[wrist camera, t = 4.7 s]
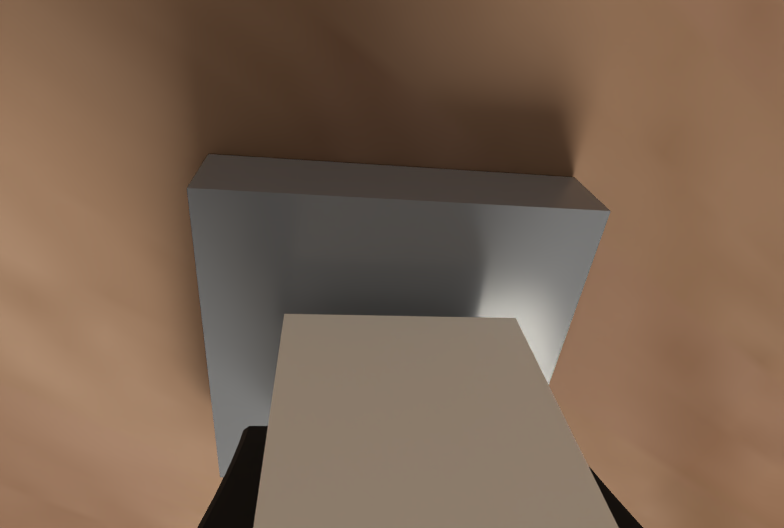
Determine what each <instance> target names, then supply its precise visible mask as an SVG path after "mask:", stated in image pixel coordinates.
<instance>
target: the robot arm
mask: <svg viewBox="0 0 784 528" xmlns="http://www.w3.org/2000/svg"><path fill="white" fill-rule="evenodd" d="M267 429H268V426H248V427H247V428H246V429H244V430H243V433H242V435H241V438H240V441H239V444H238V446H237V449H236V451H235V453H234V456H233V458H232V460H231V463H230V465H229V467H228V469H227V471H226V474H225V476H224V478H223V480H222V482H221V484H220V486H219V488H218V490H217V492H216V494H215V496H214V498H213V500H212V502H211V503H210V505H209V507H208V509H207V511H206V513H205V515H204V517H203V518H202V520H201V522H200V524H199V526H198V528H253V526H254V519H255V512H256V505H257V498H258V491H259V484H260V477H261V471H262V464H263V457H264V450H265V443H266V436H267ZM589 468H590V467H589ZM590 470H591V472H592V474H593V476H594V479H595V481H596V483H597V485H598V487H599V489H600V491H601V493H602V495H603V497H604V499H605V501H606V503H607V505H608V507H609V509H610V511H611V513H612V515H613V517H614V519H615V521H616V523H617V525H618V527H619V528H643V527H642V526H641V525H640V524H639V523H638V522H637V520H636V519H635V518H634V517H633V516H632V515H631V514H630V513H629V512H628V510H627V509H626V508H625V507H624V506H623V505H622V504H621V503H620V502H619V501H618V499H617V498H616V497H615V496H614V495H613V494H612V493H611V491H610V490H609V489H608V488H607V487H606V486H605V485H604V483H603V482H602V481H601V480H600V479H599V478H598V476H597V475H596V474H595V473H594V472H593V471H592V469H591V468H590Z"/></svg>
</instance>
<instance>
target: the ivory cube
mask: <svg viewBox="0 0 784 528" xmlns="http://www.w3.org/2000/svg"><path fill="white" fill-rule="evenodd" d="M253 528H619V527H618V525H617V523H616V521H615V519H614V517H613V515H612V513H611V511H610V509H609V507H608V505H607V503H606V501H605V499H604V497H603V495H602V493H601V491H600V489H599V487H598V485H597V483H596V481H595V479H594V476H593V474H592V472H591V470H590V468H589V466H588V464H587V462H586V460H585V458H584V456H583V454H582V452H581V450H580V448H579V446H578V444H577V442H576V440H575V438H574V436H573V434H572V432H571V430H570V428H569V426H568V424H567V421H566V419H565V417H564V415H563V413H562V411H561V409H560V407H559V405H558V403H557V401H556V399H555V397H554V395H553V393H552V391H551V389H550V387H549V385H548V383H547V381H546V379H545V377H544V375H543V373H542V371H541V369H540V367H539V364H538V362H537V360H536V358H535V356H534V354H533V352H532V350H531V348H530V346H529V344H528V342H527V340H526V338H525V336H524V334H523V332H522V330H521V328H520V326H519V324H518V322H517V320H516V318H485V317H431V316H377V315H324V314H284V319H283V326H282V333H281V340H280V346H279V353H278V360H277V367H276V374H275V381H274V388H273V395H272V402H271V408H270V415H269V422H268V429H267V436H266V443H265V450H264V457H263V464H262V471H261V477H260V484H259V491H258V498H257V505H256V512H255V519H254V526H253Z"/></svg>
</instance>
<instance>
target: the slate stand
mask: <svg viewBox="0 0 784 528" xmlns="http://www.w3.org/2000/svg"><path fill="white" fill-rule="evenodd" d="M187 194H188V203H189V212H190V220H191V229H192V238H193V246H194V255H195V264H196V272H197V281H198V290H199V298H200V307H201V316H202V324H203V333H204V342H205V350H206V359H207V368H208V376H209V385H210V394H211V402H212V411H213V420H214V428H215V437H216V446H217V454H218V463H219V472H220V477H224V476H225V474H226V471H227V469H228V467H229V465H230V463H231V460H232V458H233V456H234V453H235V451H236V449H237V446H238V444H239V441H240V438H241V435H242V433H243V430H244V429H246V428H247V427H248V426H268V422H269V415H270V408H271V402H272V395H273V388H274V381H275V374H276V367H277V360H278V353H279V346H280V340H281V333H282V326H283V319H284V314H324V315H377V316H431V317H485V318H516V320H517V322H518V324H519V326H520V328H521V330H522V332H523V334H524V336H525V338H526V340H527V342H528V344H529V346H530V348H531V350H532V352H533V354H534V356H535V358H536V360H537V362H538V364H539V367H540V369H541V371H542V373H543V375H544V377H545V379H546V381H547V383H548V385H549V382H550V380H551V377H552V374H553V371H554V368H555V366H556V363H557V360H558V357H559V354H560V351H561V349H562V346H563V343H564V340H565V337H566V335H567V332H568V329H569V326H570V323H571V321H572V318H573V315H574V312H575V309H576V307H577V304H578V301H579V298H580V295H581V293H582V290H583V287H584V284H585V281H586V279H587V276H588V273H589V270H590V267H591V264H592V262H593V259H594V256H595V253H596V250H597V248H598V245H599V242H600V239H601V236H602V234H603V231H604V228H605V225H606V222H607V220H608V217H609V214H610V210H609V209H608V208H607V207H606V206H605V205H604V204H602V203H601V202H600V201H599V200H598V199H597V198H596V197H595V196H594V195H593V194H592V193H591V192H590V191H588V190H587V189H586V188H585V187H584V186H583V185H582V184H581V183H580V182H579V181H578V180H577V179H576V178H575V177H562V176H547V175H531V174H515V173H499V172H484V171H468V170H452V169H436V168H421V167H405V166H389V165H373V164H358V163H342V162H326V161H310V160H295V159H279V158H263V157H247V156H232V155H216V154H208V155H207V157H206V158H205V160H204V162H203V163H202V165H201V166H200V168H199V169H198V171H197V173H196V174H195V176H194V177H193V179H192V180H191V182H190V184H189V185H188V187H187Z"/></svg>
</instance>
